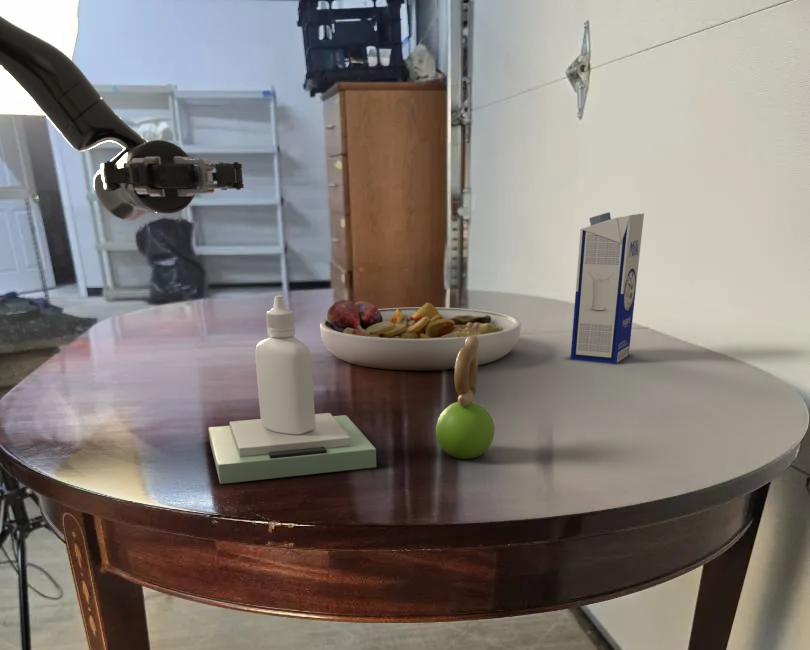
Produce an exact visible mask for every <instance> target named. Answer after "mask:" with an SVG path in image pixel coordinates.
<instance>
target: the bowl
mask: <svg viewBox="0 0 810 650" xmlns="http://www.w3.org/2000/svg"><path fill="white" fill-rule="evenodd" d="M469 322H471V323H472V325H473V326H472V328H470V336H471V335H474V336H476V328H475V327H474V324H475V323H476V322H477V323H479V324H480V326H479V328H477V338H478V341H479V346H478V351H477V353H478V366H481V365H486V364H490V363H492V362H494V361H497V360H499V359H502V357H505V356H506V355H507V354H508V353H510V352H511V351H512V350H513V349H514V348H515V346H516V345H517V342H518V341H519V338H520V335H521V324H522V323H521V321H520V319H518V318H516V317H515V316H512V315H509V314H505V313H501V312H496V311H491V310H489V311H488V310H483V309H474V308H457V307H435V306H434V305H433V304H432V303H430V302H425V304H423V305H422V306H421V307H420V306H419V307H418V306H417V307H415V306H414V307H412V306H411V307H391V308H389V307H388V308H377V306H376V305H374V304H373V303H371V302H369V301H362V300H361V301H357V302H355V303H354V302H353V301H351V300H347V299H340V300H338V301H336V302H334V303H333V304H332V305H331V306H330V307H329V308H328V309H327V313H326V318H324V319H323V320H322V321H321V322H320V324H319V329H320V336H321V340H322V342H323V345H324V346H325V348H326V349H327V350H328V351H329V352H330V354H332V355H333V356H335V357H336V358H338V359H339V360H341V361H344V362H346V363H349V364H353V365H354V366H355V365H356V366H360V367H365V368H372V369H378V370H379V369H380V370H390V371H391V370H392V371H412V372H413V371H416V372H417V371H418V372H419V371H421V372H422V371H425V372H426V371H445V370H446V371H447V370H455V363H456V359H457V356H458V353H459V352H460V350H461V349H462V348H464V347H466V346H465V341H466V339H467V338H468V337H469V328H468V327H467V323H469Z"/></svg>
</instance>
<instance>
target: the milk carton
mask: <svg viewBox="0 0 810 650" xmlns="http://www.w3.org/2000/svg"><path fill="white" fill-rule="evenodd" d="M644 219H645V213H636V214H630V215H625V216H618V217H614V218H612V217H611V212H610V211H609V212H604V213H601V214H599V215H595V216H592V217H589V223H590V225H589V226H585V227H582V228H580V231H579V242H578V243H579V245H578V256H577V269H576V281H575V282H576V283H575V295H574V309H573V319H572V321H573V323H572V333H571V334H572V335H571V347H570V360H573V361H581V362H582V361H584V362H592V363H604V364H615V365H616V364H618V363H620V362H621V361H622V360H624V359H626V358H627V357H629V355H630V347H631V337H632V329H633V328H632V327H633V318H634V309H635V301H636V291H637V282H638V274H639V273H638V272H639V263H640V255H641V254H640V253H641V244H642V234H643V226H644Z"/></svg>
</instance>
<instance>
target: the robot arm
mask: <svg viewBox="0 0 810 650" xmlns="http://www.w3.org/2000/svg"><path fill="white" fill-rule="evenodd" d="M0 67H1V68H2V69H3V70H4V71H5V72H6V73H7V74H8V75H9V76H10V77H11V78H12V79H13V80H14V81H15V82H16V83H17V84H18V86H20V88H22V90H23V91H24V92H25V93H26V94H27V95H28V96H29V97H30V99H31V100H32V101H33V102H34V103H35V105H36V106H37V107H38V108H39V109H40V110H41V112H42V113H43V114H44V115H45V116H46V118H47V119H48V120H49V122H51V124H52V125H53V126H54V127H55V129H56V130H57V131H58V132H59V133H61V135H62V137H63V138H64V139H65V140H66V142H67V143H68V144H69V145H70V146H71V147H72V148H73V149H74V150H76V151H79V152H85V151H88V150H90V149H92V148H95V147H97V146H98V145H100V144H103V143H106V142H112V143H116V144H117V145H120V146H121V147H122V148H123V149H122V151H120V152H119V153H118V154H117V155H116V156H114V157H113V158H112V159H110V160H107V161H106V162H102V163H100V169H99V170H98V171H97V172H96V174H95V175H94V177H93V188H94V189H93V190H94V193H95V195H96V197H97V199H98V201H99V203H100V204H101V205H102V207H103V208H104V209H105V210H106V211H108V212H109V214H111V215H113V216H114V217H116V218H117V219H120V220H123V221H127V222H132V221H133V222H134V221H136V220H138V219H140V218H142V217H143V216H144V215H146V214H147V213H149V212H150V213H156V214H164V215H165V214H175V213H178V212H181V211H183V210H184V209H185V208H187V207H188V206H189V205H190V204H191V203H192V202H193V200H194V197H195V195H199V194H200V195H202V194H205V195H206V194H213V193H214V192H215V190H216V189H218V190H221V191H227V190H229V189H230V190H231V189H235V190H236V191H241V190H242V189H244V188H245V186H244V178H243V165H242V163H239V161H233V163H230V162H224V161H218V162H216V163H215V162H212V160H211V159H210V158H191V157H190V156H189V154H187V152H186V151H184V149H182V148H181V147H180V146H179V145H177V144H175V143H173V142H171V141H167V140H162V139H155V140H150V141H149V140H147V139H146V138H145V137H143V136H142V135H140V134H139V133H138V132H137V131H136V130H135V129H133V128H132V127H131V126H130V125H129V124H127V123H126V122H125V121H124V120H123V119H122V118H121V117H120V116H119V115H118V114H117V113H116V112H115V111H114V110H113V109H112V108H111V107H110V105H109V104H108V103H107V102H106V101H105V99H104V98H103V96H101V94H100V93H99V92H98V90H97V89H96V88H95V87H94V86H93V84H92V83H91V82H90V81H89V79H88V78H87V76H86V75H85V74H84V73H83V71H82V70H81V69H80V67H79V66H78V65H77V64H76V63H75V62H74V61H73V60H72V59H71V58H70V57H68V56H67V54H65V53H64V52H62V50H60V49H58V48H57V47H56V46H54V45H53V44H50V43H49V42H47V41H46V40H43V39H42V38H40V37H38V36H36V35H34V34H32V33H30V32H28V31H26V30H24V29H22V28H21V27H19V26H17V25H15V24H14V23H12V22H10V21H9V20H7V19H6V18H4V17H2V16H1V15H0ZM214 169H215V172H213V170H214Z"/></svg>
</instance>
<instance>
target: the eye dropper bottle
mask: <svg viewBox="0 0 810 650" xmlns="http://www.w3.org/2000/svg"><path fill="white" fill-rule="evenodd" d="M265 320H266V332H267V336H268V338H264V339H262V340H260V341H259V342H258V343H257V344H256V346H255V350H254V356H255V369H256V381H257V395H258V405H259V406H258V407H259V417H260V418H259V419H261V424H262V426H263V427H265V428H267V429H269V430H271V431H274V432H278V433H284V434H294V435H298V434H303V433H306V432H309V431H312V430H314V429H315V414H316V412H315V411H316V409H315V398H314V397H315V396H314V379H313V378H314V377H313V366H312V365H313V364H312V355H311V351H310V348H309V347H308V346H307V345H306V344H305V343H304V342H303V341H301V340H300V339H298V338H297V337H295V335H296V331H295V329H296V327H295V315H294V311H293V310H290V309H288V308H287V306H286V304H285V300H284V296H283V295H274V297H273V306H272V308H271V309H270V310H268V311H267V312H265Z"/></svg>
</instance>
